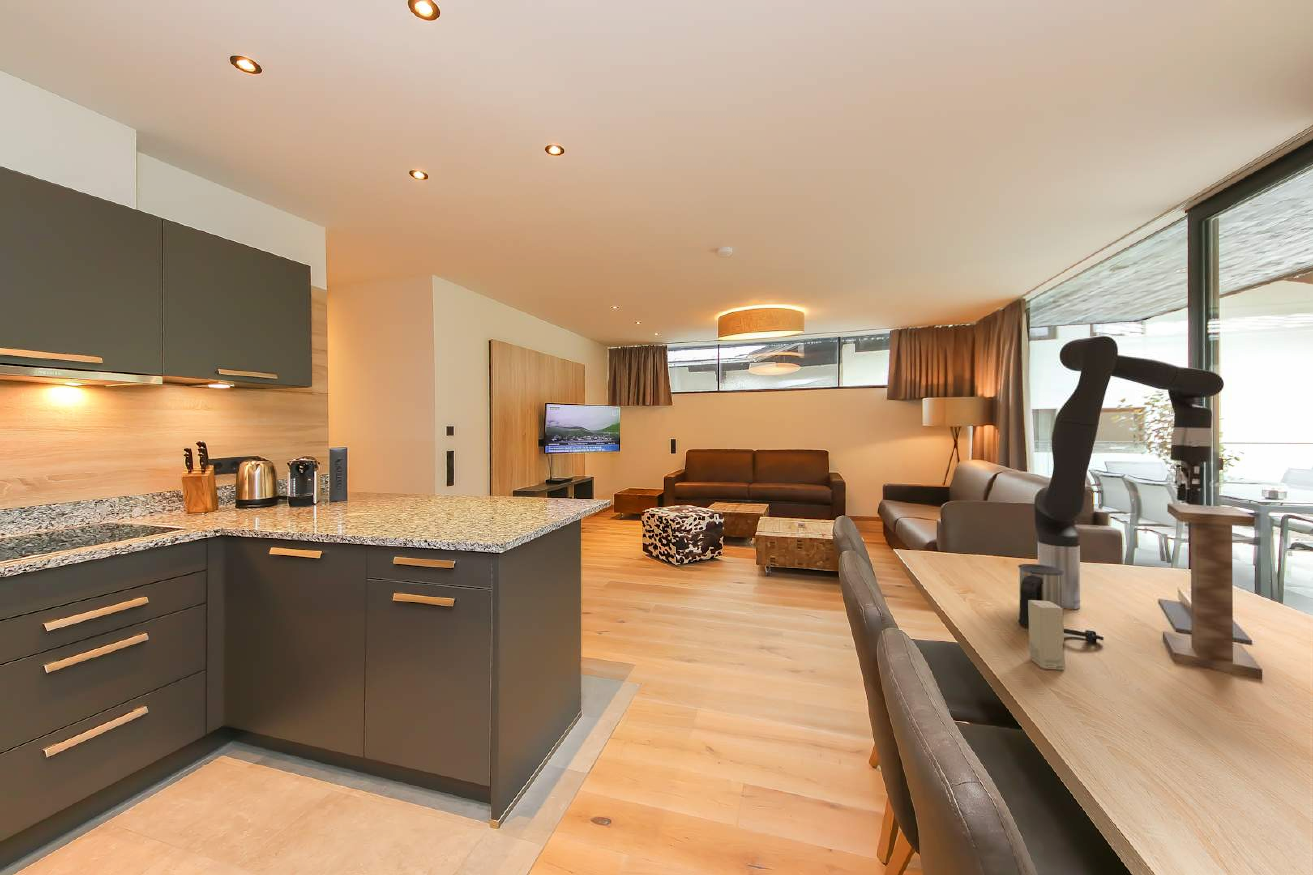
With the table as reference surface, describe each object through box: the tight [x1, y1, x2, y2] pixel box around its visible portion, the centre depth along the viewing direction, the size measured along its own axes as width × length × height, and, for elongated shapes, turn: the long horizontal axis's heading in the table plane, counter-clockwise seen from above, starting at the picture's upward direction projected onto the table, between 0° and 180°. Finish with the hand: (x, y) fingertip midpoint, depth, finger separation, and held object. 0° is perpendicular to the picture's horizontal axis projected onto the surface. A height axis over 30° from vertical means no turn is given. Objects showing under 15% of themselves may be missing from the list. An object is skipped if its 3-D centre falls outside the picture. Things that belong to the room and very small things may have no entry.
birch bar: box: [1177, 587, 1191, 615], centre depth 128 cm, size 3×24×3 cm, turn 141°
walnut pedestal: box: [1162, 502, 1263, 680], centre depth 104 cm, size 12×15×32 cm
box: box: [1028, 600, 1066, 671], centre depth 103 cm, size 5×4×13 cm
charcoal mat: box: [1157, 598, 1253, 645], centre depth 125 cm, size 12×26×1 cm, turn 141°
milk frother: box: [1017, 563, 1105, 644], centre depth 119 cm, size 14×16×15 cm
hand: (1186, 502), depth 136 cm, fingers open, 8 cm apart
